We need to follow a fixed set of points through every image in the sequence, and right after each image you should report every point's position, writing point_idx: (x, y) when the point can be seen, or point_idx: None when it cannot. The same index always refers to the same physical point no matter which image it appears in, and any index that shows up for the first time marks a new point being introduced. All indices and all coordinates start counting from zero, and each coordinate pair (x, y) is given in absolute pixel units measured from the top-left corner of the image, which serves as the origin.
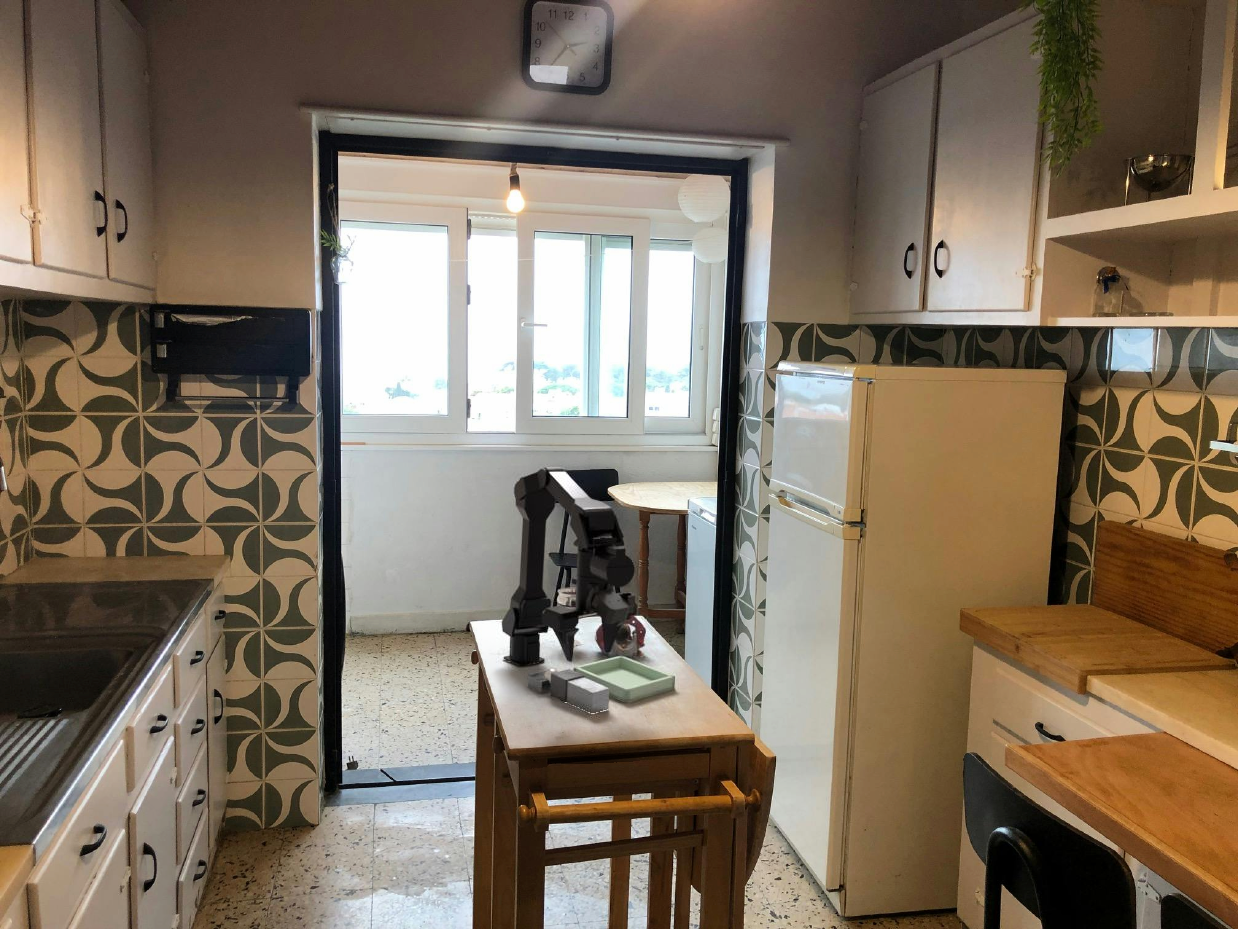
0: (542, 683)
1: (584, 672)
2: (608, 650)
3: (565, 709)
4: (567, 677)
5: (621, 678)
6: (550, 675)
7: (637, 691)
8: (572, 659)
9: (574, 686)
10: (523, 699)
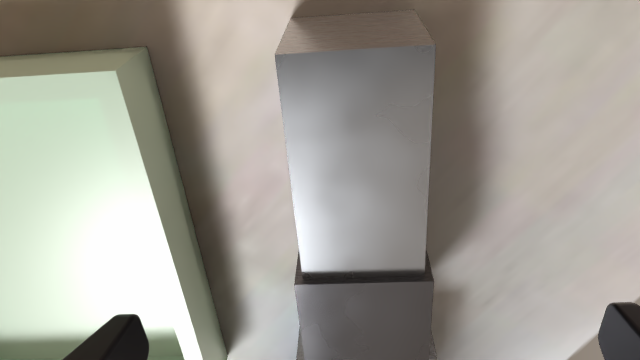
0: (430, 352)
1: (201, 351)
2: (127, 333)
3: (470, 144)
4: (399, 302)
5: (36, 274)
6: None
7: (40, 67)
8: (628, 315)
9: (426, 211)
10: (525, 309)
